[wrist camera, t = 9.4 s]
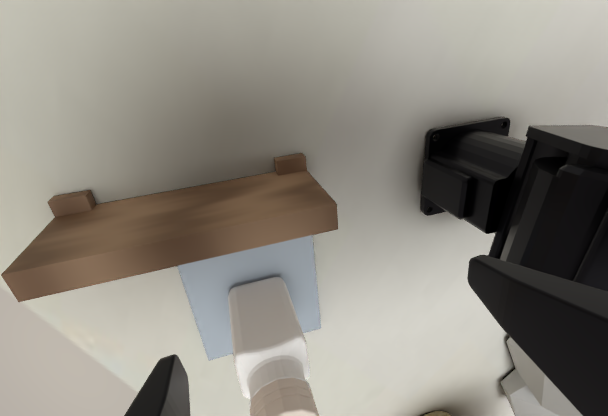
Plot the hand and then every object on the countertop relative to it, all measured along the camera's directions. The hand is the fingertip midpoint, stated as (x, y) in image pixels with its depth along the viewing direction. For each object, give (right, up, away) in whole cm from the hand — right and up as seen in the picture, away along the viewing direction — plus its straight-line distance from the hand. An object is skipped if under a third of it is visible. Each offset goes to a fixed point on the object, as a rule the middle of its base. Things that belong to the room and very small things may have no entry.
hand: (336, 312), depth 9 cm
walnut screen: (-8, +4, +10) cm, 13 cm away
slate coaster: (-4, -3, +14) cm, 16 cm away
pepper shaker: (-4, -4, +14) cm, 15 cm away
